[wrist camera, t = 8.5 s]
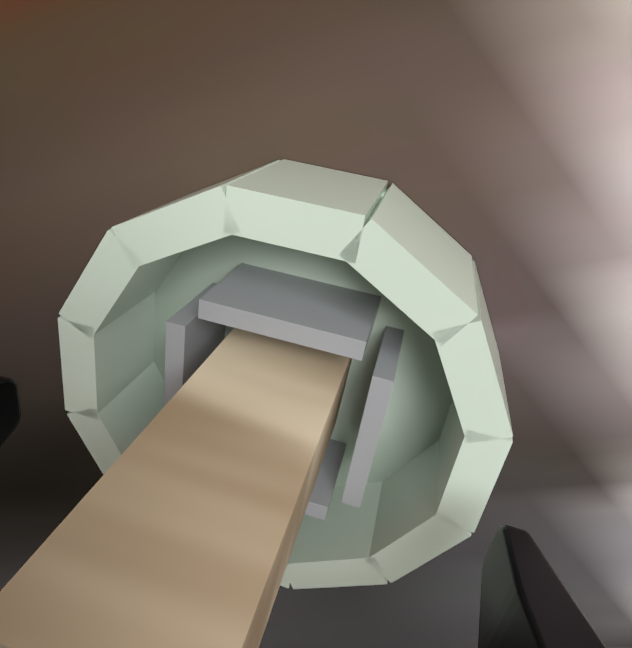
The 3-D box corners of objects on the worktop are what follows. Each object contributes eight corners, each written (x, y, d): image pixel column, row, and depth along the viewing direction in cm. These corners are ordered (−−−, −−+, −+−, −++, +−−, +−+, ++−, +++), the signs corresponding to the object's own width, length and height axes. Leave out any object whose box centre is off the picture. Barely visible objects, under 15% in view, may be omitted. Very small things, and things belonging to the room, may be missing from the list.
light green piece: (434, 527, 14) (430, 635, 12) (142, 439, 16) (73, 517, 13) (551, 215, 10) (588, 264, 8) (142, 129, 12) (43, 144, 9)
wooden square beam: (335, 421, 13) (191, 842, 6) (241, 393, 13) (-7, 757, 6) (358, 335, 12) (212, 728, 5) (253, 305, 12) (-35, 629, 5)
